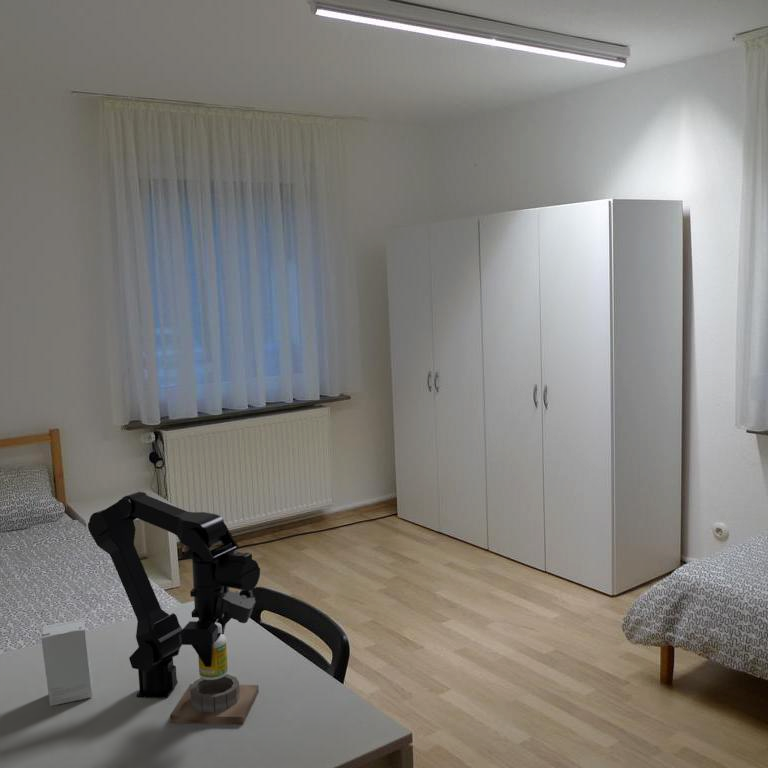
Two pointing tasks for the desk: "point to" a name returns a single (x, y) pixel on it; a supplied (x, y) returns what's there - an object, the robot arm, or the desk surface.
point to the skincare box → (67, 662)
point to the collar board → (217, 716)
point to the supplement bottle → (216, 659)
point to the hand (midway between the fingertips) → (212, 659)
